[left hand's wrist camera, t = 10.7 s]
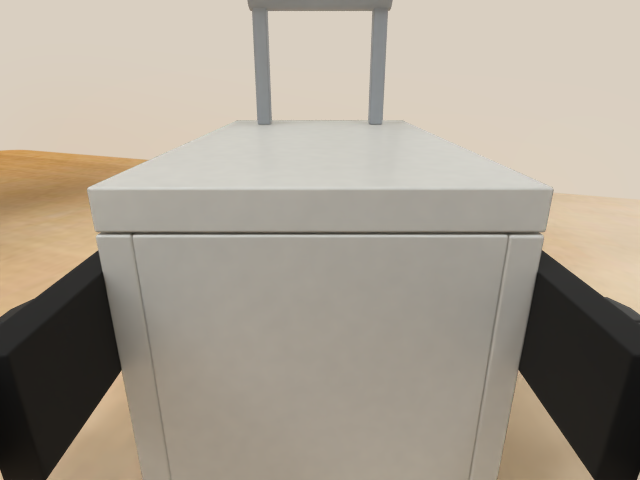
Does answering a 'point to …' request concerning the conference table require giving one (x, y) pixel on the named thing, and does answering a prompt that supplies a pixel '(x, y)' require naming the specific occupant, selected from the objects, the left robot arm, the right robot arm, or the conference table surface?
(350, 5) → the lid
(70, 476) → the conference table surface
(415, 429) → the chest
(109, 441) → the conference table surface
